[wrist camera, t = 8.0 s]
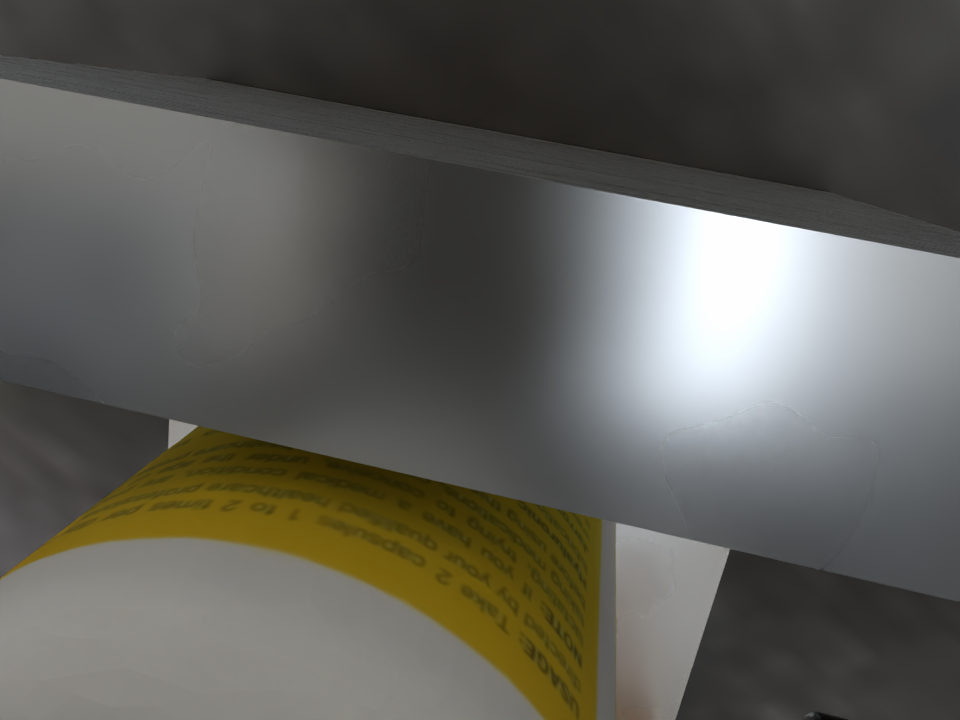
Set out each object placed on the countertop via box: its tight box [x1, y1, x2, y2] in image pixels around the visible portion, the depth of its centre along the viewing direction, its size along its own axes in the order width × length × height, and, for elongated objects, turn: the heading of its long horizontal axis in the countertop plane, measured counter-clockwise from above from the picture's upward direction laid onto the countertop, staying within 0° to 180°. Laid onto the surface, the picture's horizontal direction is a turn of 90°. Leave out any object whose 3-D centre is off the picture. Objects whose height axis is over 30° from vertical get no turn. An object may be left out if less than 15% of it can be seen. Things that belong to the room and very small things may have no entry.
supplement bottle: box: [0, 426, 616, 720], centre depth 7 cm, size 5×5×10 cm
